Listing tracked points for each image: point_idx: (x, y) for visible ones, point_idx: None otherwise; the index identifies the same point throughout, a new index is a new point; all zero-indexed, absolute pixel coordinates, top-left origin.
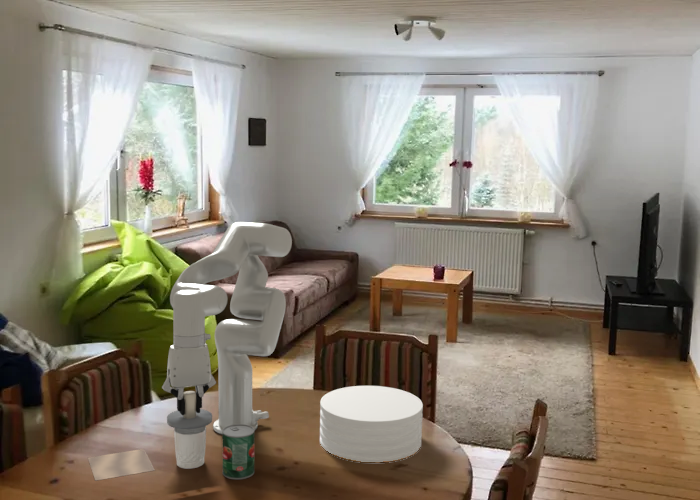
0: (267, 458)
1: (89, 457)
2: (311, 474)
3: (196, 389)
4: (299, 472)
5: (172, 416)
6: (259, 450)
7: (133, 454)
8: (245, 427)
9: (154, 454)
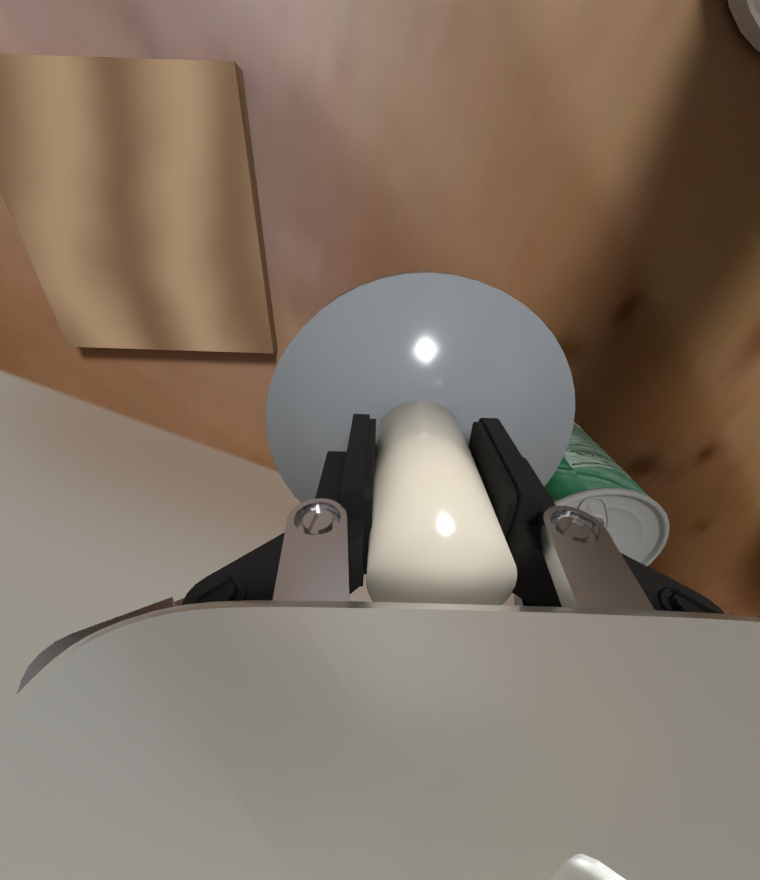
0: (663, 390)
1: None
2: (673, 522)
3: (552, 572)
4: (659, 504)
5: (306, 399)
6: (698, 311)
7: (182, 131)
8: (641, 526)
9: (291, 132)
